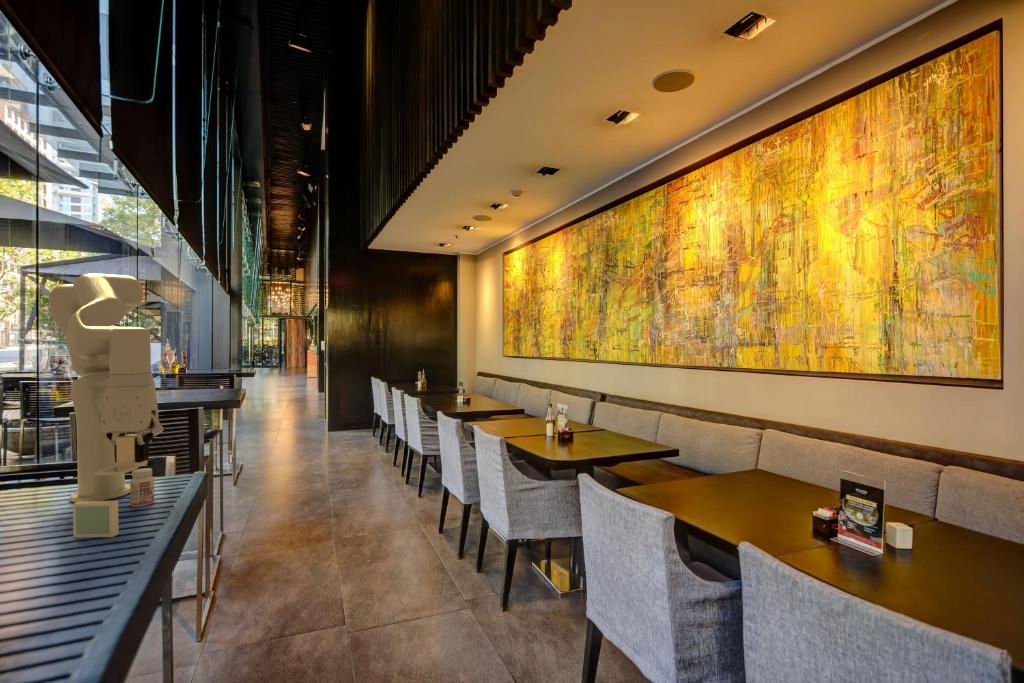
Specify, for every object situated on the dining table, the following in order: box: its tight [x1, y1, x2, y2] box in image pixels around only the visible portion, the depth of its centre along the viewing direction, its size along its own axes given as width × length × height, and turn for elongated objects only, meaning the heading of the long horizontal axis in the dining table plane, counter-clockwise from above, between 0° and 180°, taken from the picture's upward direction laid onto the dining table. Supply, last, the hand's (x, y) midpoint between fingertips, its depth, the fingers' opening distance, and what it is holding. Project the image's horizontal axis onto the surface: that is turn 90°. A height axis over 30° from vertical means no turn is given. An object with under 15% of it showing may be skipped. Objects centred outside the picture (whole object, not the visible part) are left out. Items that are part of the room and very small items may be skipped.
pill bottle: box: [129, 467, 155, 508], centre depth 124 cm, size 5×5×8 cm
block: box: [72, 500, 120, 538], centre depth 104 cm, size 2×8×7 cm, turn 91°
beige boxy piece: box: [94, 433, 148, 475], centre depth 112 cm, size 9×6×7 cm, turn 0°
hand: (132, 460), depth 115 cm, fingers closed on beige boxy piece, 4 cm apart
